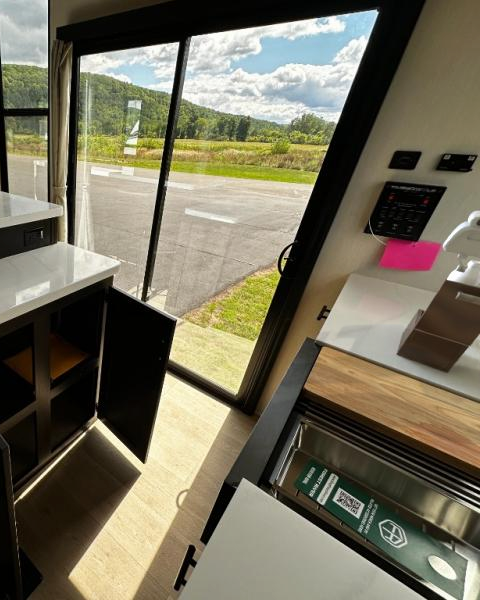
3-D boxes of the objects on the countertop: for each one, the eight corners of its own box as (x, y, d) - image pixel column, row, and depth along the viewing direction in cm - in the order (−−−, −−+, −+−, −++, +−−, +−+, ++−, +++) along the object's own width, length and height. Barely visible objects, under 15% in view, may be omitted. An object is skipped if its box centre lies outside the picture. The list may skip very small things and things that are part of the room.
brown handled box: (445, 279, 85) (445, 284, 82) (510, 294, 78) (512, 300, 75) (414, 327, 93) (412, 334, 90) (470, 345, 86) (470, 352, 83)
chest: (402, 332, 107) (418, 308, 101) (450, 348, 100) (470, 323, 94) (396, 354, 98) (413, 329, 93) (447, 372, 91) (469, 346, 86)
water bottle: (420, 330, 107) (466, 264, 94) (414, 320, 112) (456, 255, 99) (455, 337, 104) (508, 269, 90) (447, 326, 109) (496, 260, 95)
